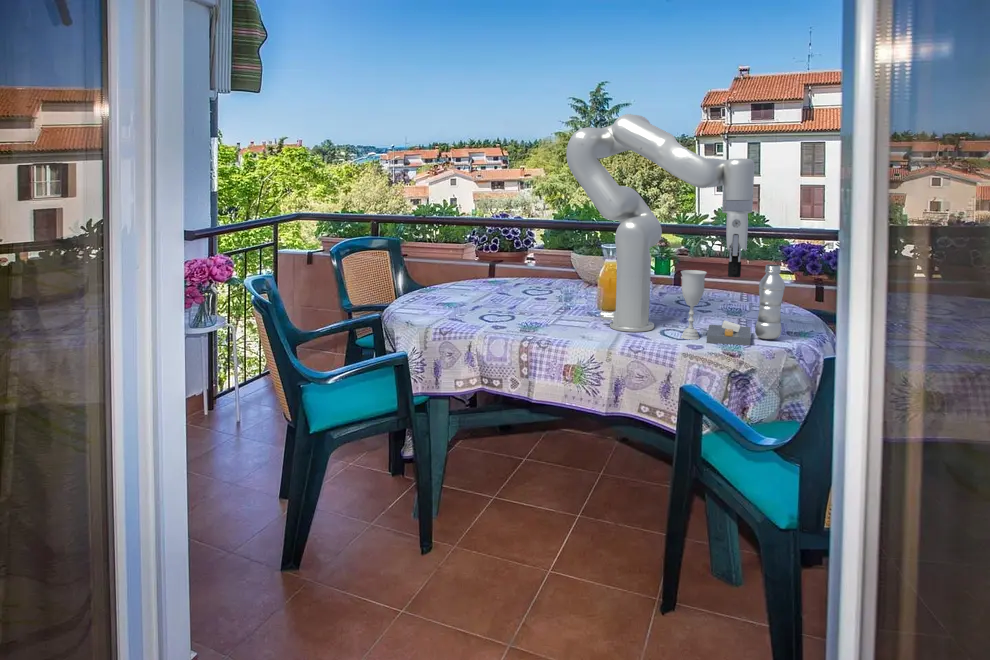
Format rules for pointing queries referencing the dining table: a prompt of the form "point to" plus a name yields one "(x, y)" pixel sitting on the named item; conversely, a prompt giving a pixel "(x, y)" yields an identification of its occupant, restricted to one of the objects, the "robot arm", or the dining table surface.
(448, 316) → the dining table surface
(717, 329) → the panel
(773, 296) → the plastic bottle
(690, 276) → the chalice
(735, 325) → the block
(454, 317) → the dining table surface
